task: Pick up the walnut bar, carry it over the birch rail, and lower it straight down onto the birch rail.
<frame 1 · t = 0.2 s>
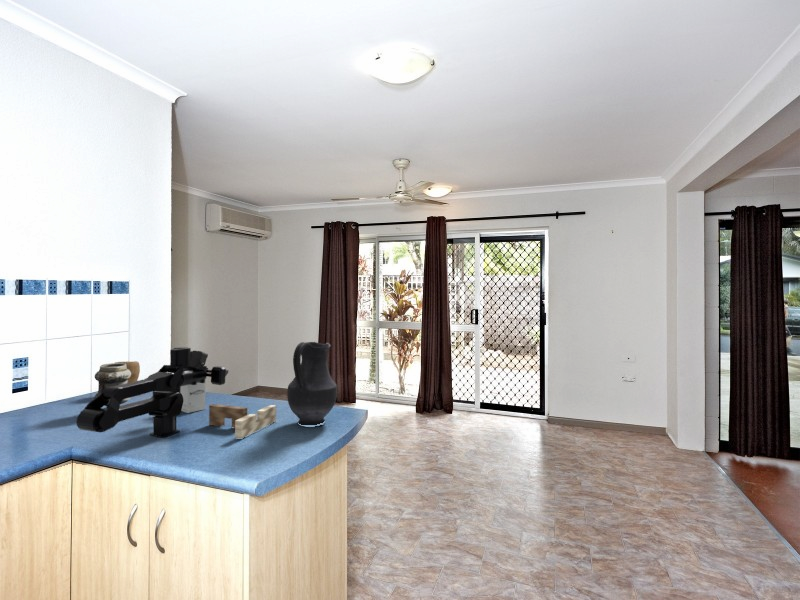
hand: (217, 370, 173), 16 cm above the worktop, tool horizontal, fingers open, 9 cm apart
pitcher: (309, 425, 161), on the worktop
birch rail: (256, 430, 154), on the worktop
walnut bar: (228, 426, 158), on the worktop
supplement box: (192, 410, 178), on the worktop
tan piece: (124, 395, 199), on the worktop
apothecary jar: (113, 412, 174), on the worktop
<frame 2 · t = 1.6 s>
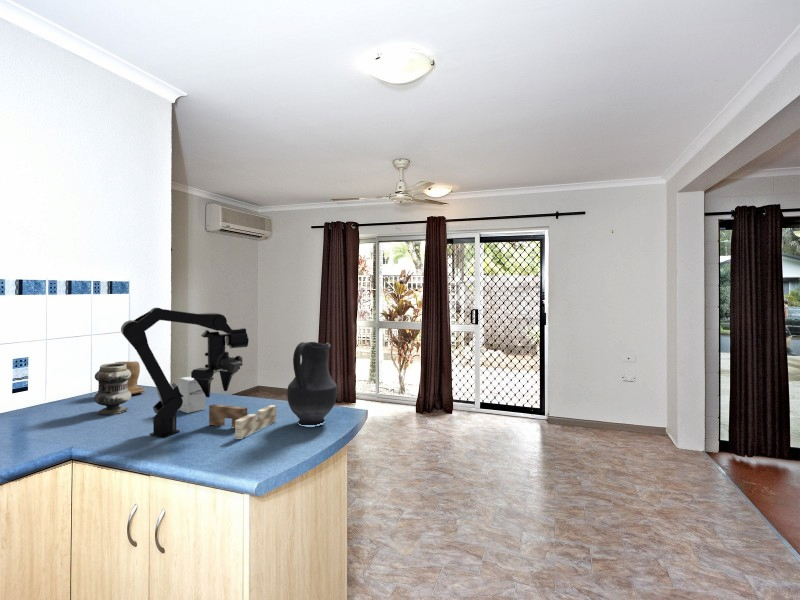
hand: (216, 394, 159), 11 cm above the worktop, tool pointing down, fingers open, 9 cm apart
nothing on the worktop moved.
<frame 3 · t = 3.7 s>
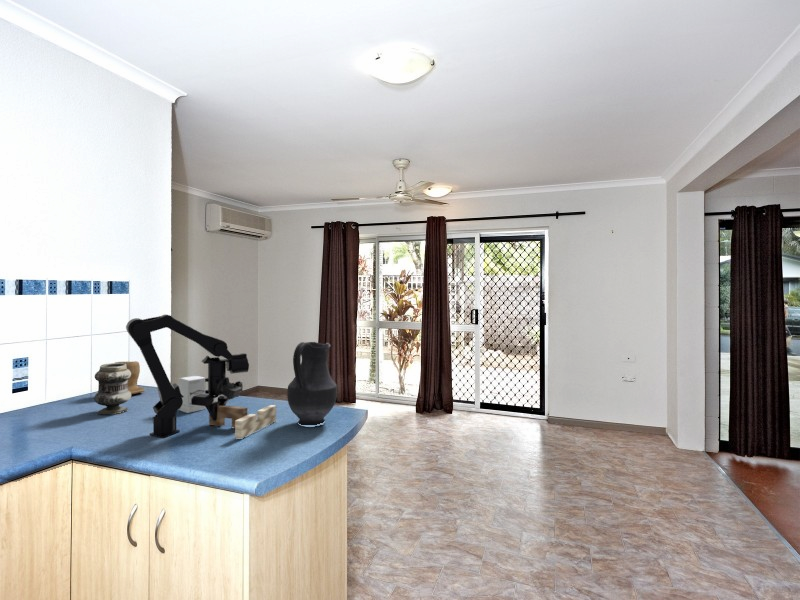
hand: (216, 419, 159), 2 cm above the worktop, tool pointing down, fingers closed on walnut bar, 2 cm apart
walnut bar: (228, 426, 158), on the worktop, touching gripper
everything else where it was.
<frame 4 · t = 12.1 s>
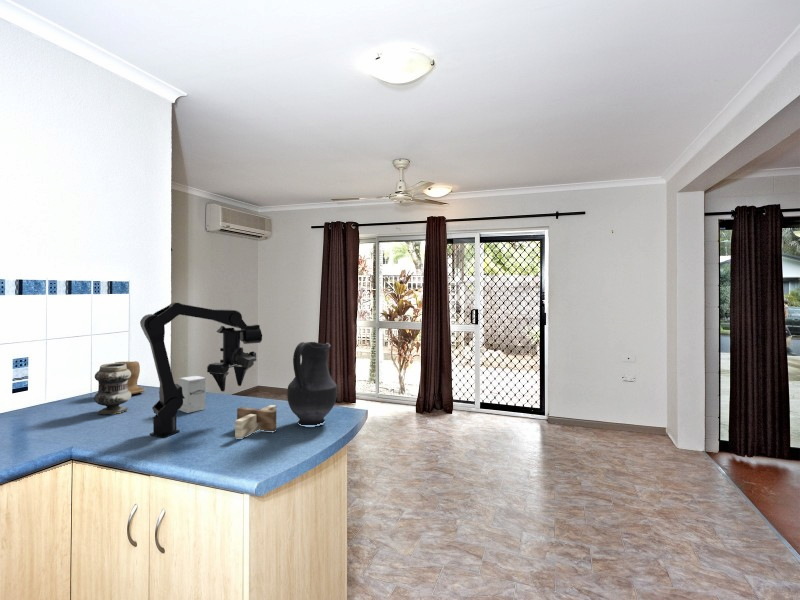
hand: (231, 388, 163), 12 cm above the worktop, tool pointing down, fingers open, 9 cm apart
walnut bar: (256, 430, 154), on the worktop
everything else where it was.
at the end: walnut bar 0.1 cm off-centre on the birch rail, point 0.0 cm above the birch rail's base; walnut bar tilted 0°; the gripper is holding nothing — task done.
